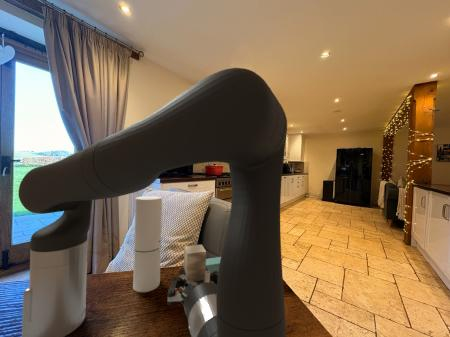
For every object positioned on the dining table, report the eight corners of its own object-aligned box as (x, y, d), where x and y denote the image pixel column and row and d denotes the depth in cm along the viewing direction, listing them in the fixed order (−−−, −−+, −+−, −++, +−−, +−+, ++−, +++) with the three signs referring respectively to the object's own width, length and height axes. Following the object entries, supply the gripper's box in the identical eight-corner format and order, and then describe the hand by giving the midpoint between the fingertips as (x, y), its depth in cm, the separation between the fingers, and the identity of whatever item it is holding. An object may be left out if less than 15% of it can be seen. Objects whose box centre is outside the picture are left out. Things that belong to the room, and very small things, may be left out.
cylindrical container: (163, 278, 60) (165, 196, 60) (154, 292, 53) (156, 199, 53) (140, 277, 60) (142, 195, 60) (128, 291, 53) (130, 199, 53)
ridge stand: (192, 295, 52) (192, 273, 52) (186, 276, 62) (186, 257, 62) (243, 285, 57) (244, 264, 57) (230, 268, 67) (231, 251, 67)
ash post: (185, 314, 45) (187, 253, 45) (182, 302, 50) (184, 246, 50) (204, 310, 47) (206, 251, 47) (200, 298, 51) (201, 244, 51)
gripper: (246, 288, 37) (218, 251, 53) (168, 304, 32) (163, 258, 48) (245, 327, 37) (217, 279, 53) (167, 350, 32) (162, 289, 48)
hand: (192, 270), depth 51 cm, fingers closed on ash post, 4 cm apart
